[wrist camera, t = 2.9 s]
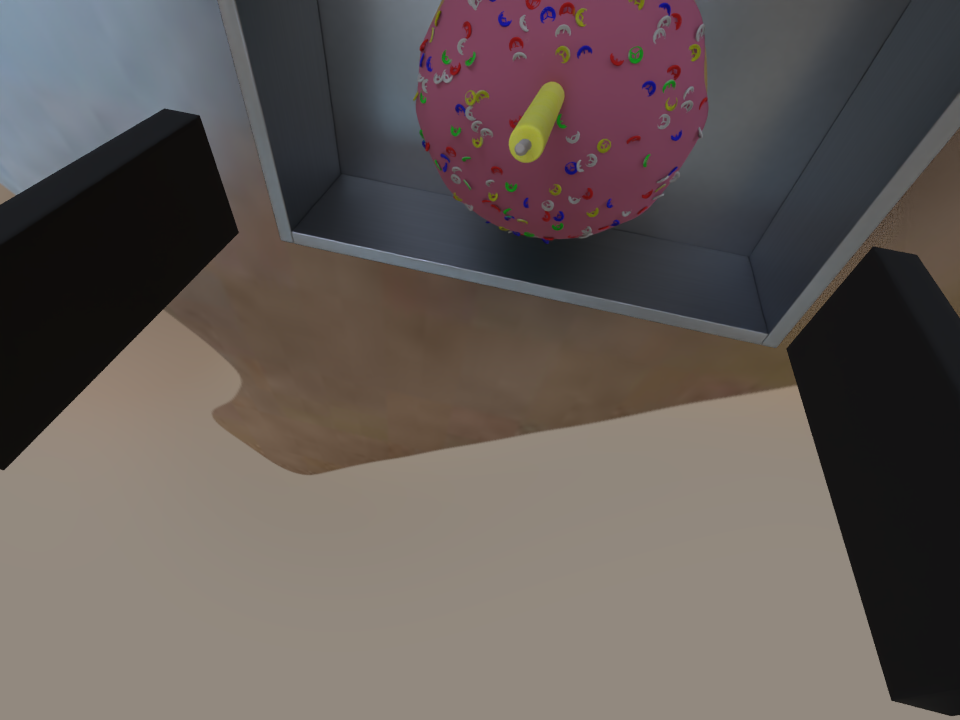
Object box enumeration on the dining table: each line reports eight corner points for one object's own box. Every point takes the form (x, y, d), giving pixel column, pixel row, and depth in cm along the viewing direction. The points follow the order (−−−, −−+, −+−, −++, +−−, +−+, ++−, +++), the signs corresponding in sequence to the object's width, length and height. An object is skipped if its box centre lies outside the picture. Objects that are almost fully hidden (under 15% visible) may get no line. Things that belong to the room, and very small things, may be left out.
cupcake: (450, -110, 15) (231, -35, 7) (744, -103, 13) (889, -2, 6) (459, 164, 21) (351, 364, 13) (658, 185, 20) (670, 421, 12)
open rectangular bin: (1051, -191, 12) (1231, -199, 8) (754, 264, 22) (776, 349, 18) (265, -291, 13) (126, -335, 10) (334, 178, 23) (280, 241, 20)
